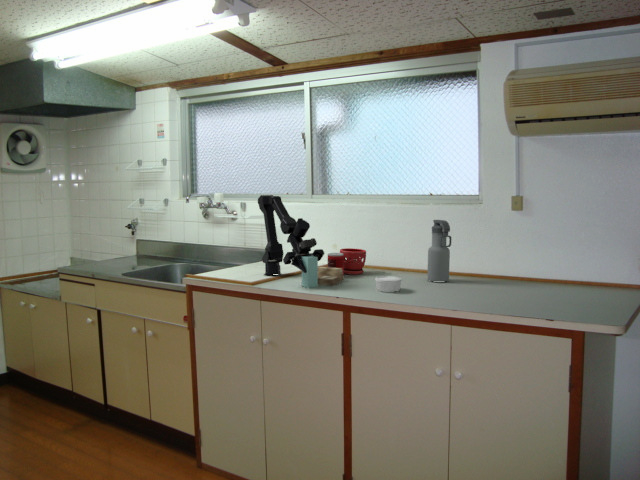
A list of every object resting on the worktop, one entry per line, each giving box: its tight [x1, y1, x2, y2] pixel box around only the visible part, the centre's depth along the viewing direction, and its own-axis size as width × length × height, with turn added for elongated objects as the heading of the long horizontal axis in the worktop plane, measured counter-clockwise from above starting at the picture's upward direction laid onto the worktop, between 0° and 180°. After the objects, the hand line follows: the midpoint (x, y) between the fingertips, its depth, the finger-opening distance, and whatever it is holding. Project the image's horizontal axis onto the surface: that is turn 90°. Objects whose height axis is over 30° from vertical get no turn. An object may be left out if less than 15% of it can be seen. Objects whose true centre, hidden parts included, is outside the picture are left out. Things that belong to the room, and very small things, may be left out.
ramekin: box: [374, 275, 402, 293], centre depth 225 cm, size 11×11×5 cm
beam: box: [318, 266, 342, 276], centre depth 249 cm, size 12×4×3 cm, turn 68°
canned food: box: [327, 252, 344, 275], centre depth 257 cm, size 8×8×11 cm
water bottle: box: [426, 219, 452, 282], centre depth 245 cm, size 10×10×28 cm
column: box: [301, 256, 319, 289], centre depth 233 cm, size 5×5×13 cm
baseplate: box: [318, 274, 345, 286], centre depth 244 cm, size 14×14×3 cm
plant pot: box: [339, 247, 367, 276], centre depth 265 cm, size 13×13×12 cm
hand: (311, 271), depth 232 cm, fingers closed on column, 5 cm apart
